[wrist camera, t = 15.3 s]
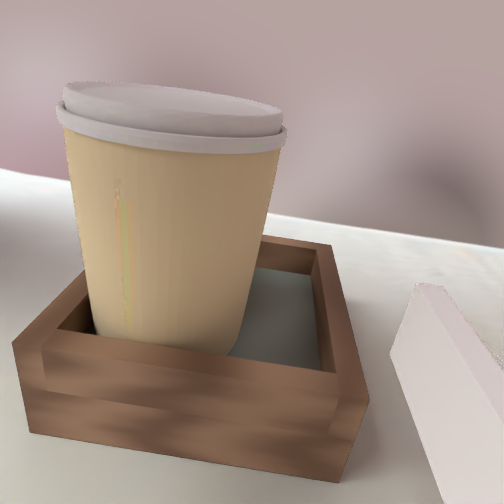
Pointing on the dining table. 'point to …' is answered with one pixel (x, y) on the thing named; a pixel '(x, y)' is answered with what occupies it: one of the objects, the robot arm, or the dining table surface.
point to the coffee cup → (169, 207)
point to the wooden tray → (211, 376)
